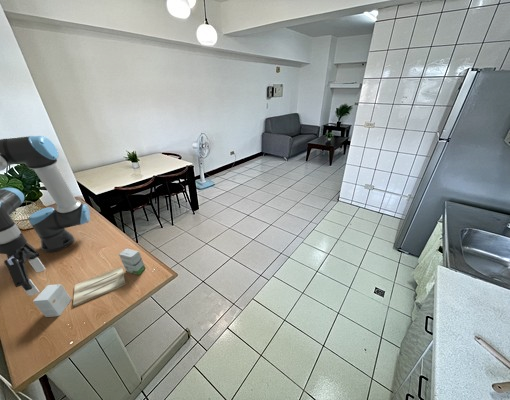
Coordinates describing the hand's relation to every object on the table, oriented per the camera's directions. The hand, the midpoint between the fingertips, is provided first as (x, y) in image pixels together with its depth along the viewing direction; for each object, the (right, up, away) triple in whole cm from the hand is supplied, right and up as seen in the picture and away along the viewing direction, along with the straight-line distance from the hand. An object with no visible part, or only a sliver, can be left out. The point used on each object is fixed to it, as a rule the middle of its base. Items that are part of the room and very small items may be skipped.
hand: (38, 281), depth 83 cm
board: (+11, -9, +19) cm, 23 cm away
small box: (0, -15, +9) cm, 17 cm away
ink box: (+23, -4, +27) cm, 36 cm away
